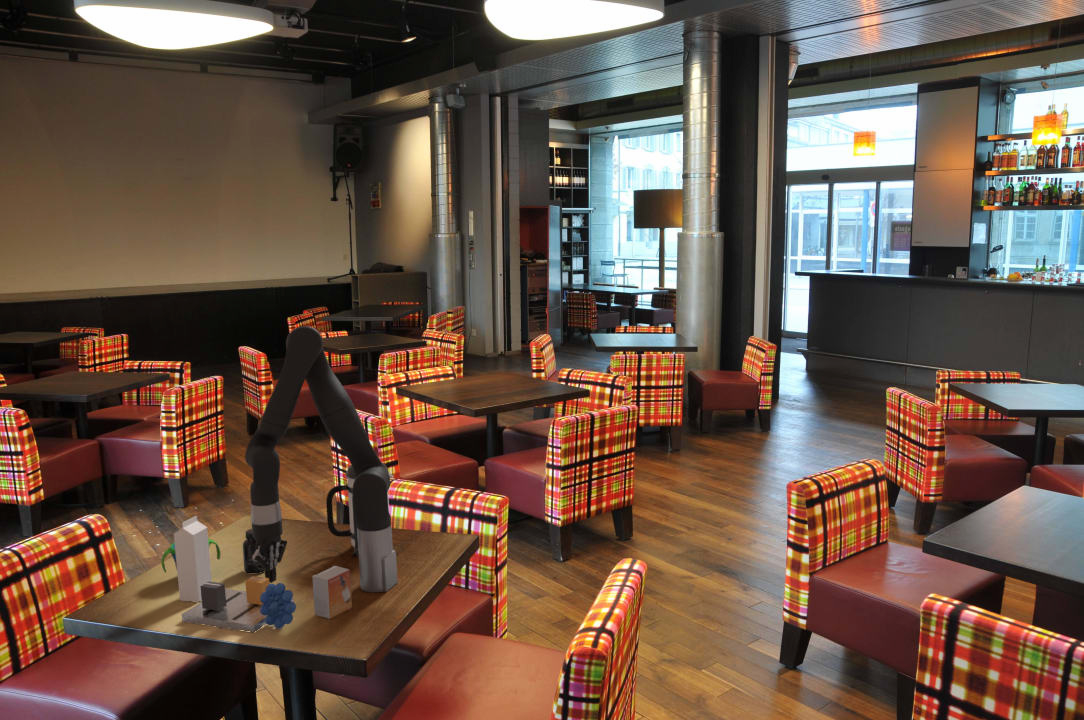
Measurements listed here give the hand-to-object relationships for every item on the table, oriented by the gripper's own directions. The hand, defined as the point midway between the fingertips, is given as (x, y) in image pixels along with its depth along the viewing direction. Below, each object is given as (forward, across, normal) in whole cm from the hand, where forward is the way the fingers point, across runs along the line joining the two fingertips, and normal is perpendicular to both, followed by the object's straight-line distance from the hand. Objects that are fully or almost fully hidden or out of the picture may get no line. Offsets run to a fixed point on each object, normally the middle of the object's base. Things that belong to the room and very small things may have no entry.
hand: (271, 581), depth 219 cm
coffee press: (+6, +39, -5) cm, 40 cm away
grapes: (+6, -12, -12) cm, 18 cm away
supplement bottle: (+6, +16, +18) cm, 25 cm away
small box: (+6, 0, -19) cm, 20 cm away
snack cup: (+6, +7, +33) cm, 34 cm away
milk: (+6, -4, +22) cm, 23 cm away
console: (+6, -9, +4) cm, 11 cm away
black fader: (+3, -12, +9) cm, 15 cm away
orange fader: (+3, -6, 0) cm, 6 cm away
